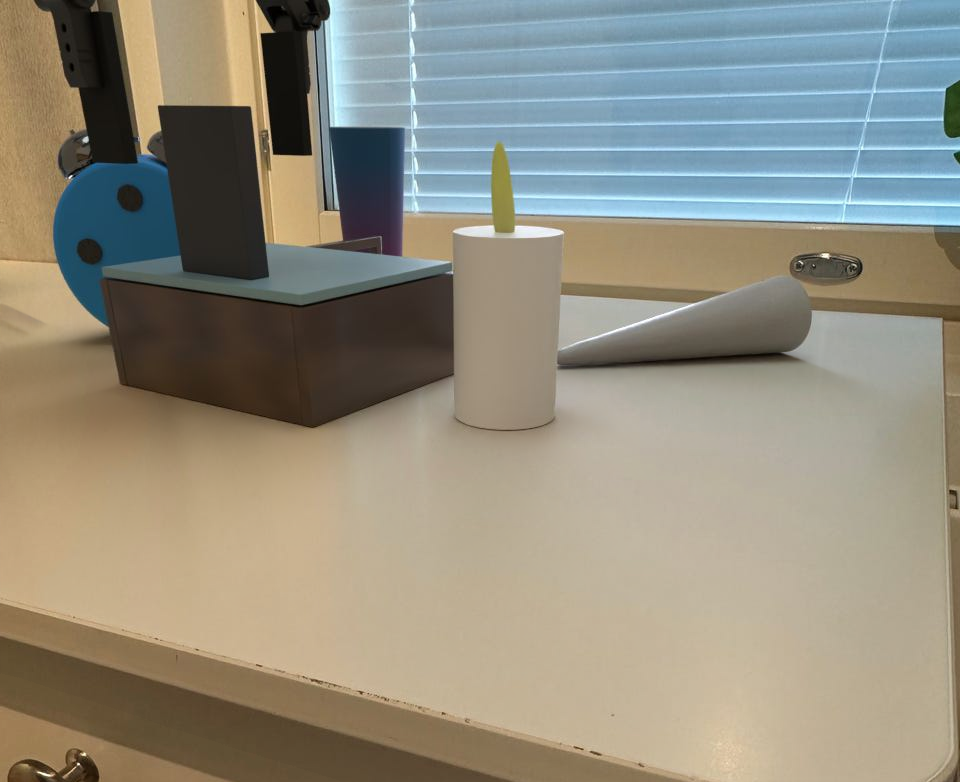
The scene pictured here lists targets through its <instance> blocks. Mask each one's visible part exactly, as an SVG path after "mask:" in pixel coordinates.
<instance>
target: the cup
mask: <svg viewBox="0 0 960 782" xmlns="http://www.w3.org/2000/svg"><path fill="white" fill-rule="evenodd" d="M328 129H329V137H330V146H331V147H330V148H331V155H332V162H333V170H334V178H335V187H336V194H337V195H336V196H337V203H338V212H339V219H340V220H339V221H340V228H341V237H342V241H343V240H350V239H356V238H362V237H369V236H381V246H382V255H390V256H400V257H403V245H404V244H403V243H404V242H403V239H404V196H405V195H404V190H405V150H406V149H405V147H406V146H405V145H406V127H403V126H329V128H328ZM352 252H361V253H370V248H366V249H360V250H354V251H352Z"/></svg>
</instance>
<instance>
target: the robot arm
mask: <svg viewBox="0 0 960 782" xmlns="http://www.w3.org/2000/svg"><path fill="white" fill-rule="evenodd" d="M255 2H256V4H257V6H258V7H259V9H260V11H261V13H262V15H263V16H264V18H265V20H266V21H267V23H268V25H269V27H270V29H271V31H273V32H261V33H259V34H260V43H261V53H262V54H261V55H262V62H263V72H264V73H263V74H264V81H265V82H264V83H265V93H266V102H267V110H268V121H269V130H270V141H271V148H272V155H273V156H292V157H293V156H294V157H308V156H309V157H310V156H312V157H313V147H312V145H313V144H312V135H311V122H310V121H311V120H310V111H309V109H310V108H309V100H308V95H310V93H311V86H312V82H311V70H310V58H309V44H308V33H309V32H317V31H319V30H320V29H321V26H322V22H326V21H328V20H329V19H330V16H331V5H330V2H329V0H255ZM33 3H34V4H35V5H36V6H37V9H40V10H41V11H42V12H46V13H48V12H49V13H51V16H52V20H53V25H54V30H55V36H56V40H57V45H58V50H59V55H60V60H61V65H62V69H63V75H64V78H65V80H66V81H67V84H68V86H69V88H71V89H73V88H74V89H78V93H79V98H80V104H81V108H82V113H83V118H84V124H85V129H87V135H88V140H89V145H90V150H91V155H92V160H93V163H115V164H136V163H138V160H137V155H138V154H137V148H136V144H135V143H136V142H134V137H135V136H134V132H133V126H132V125H133V124H132V120H131V113H130V109H129V102H128V97H127V91H126V86H125V85H126V84H125V79H124V74H123V68H122V62H121V57H120V51H119V50H120V49H119V44H118V38H117V33H116V27H115V22H114V15H113V12H112V11H103V10H102V11H101V10H95V11H92V7H93V6H94V5H95V3H96V0H33Z"/></svg>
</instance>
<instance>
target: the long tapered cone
mask: <svg viewBox="0 0 960 782" xmlns="http://www.w3.org/2000/svg"><path fill="white" fill-rule="evenodd" d="M812 310H813V309H812V303H811V299H810V296H809V294H808V292H807V290H806V288H805V287H804V286H803V284H802V283H801V282H800V281H799V280H797V279H796V278H795V277H793V276H790V275H786V274H785V275H784V274H779V275H776V276H773V277H769V278H766V279H763V280H761V281H757V282H755V283H751V284H747V285H745V286H743V287H740V288H738V289H735V290H731V291H728V292H725V293H722V294H720V295H716V296H713V297H710V298H707V299H704V300H701V301H698V302H695V303H693V304H689V305H687V306H686V305H685V306H684V307H681V308H677V309H675V310H672V311H668V312H666V313H662V314H659V315H656V316H653V317H651V318H648V319H645V320H641V321H639V322H636V323H633V324H629V325H627V326H624V327H620V328H617V329H615V330H612V331H609V332H606V333H603V334H599V335H596V336H594V337H591V338H587V339H584V340H582V341H578V342H576V343H573V344H570V345H567V346H565V347H563V348H561V349H558V357H557V366H564V367H565V366H569V367H570V366H571V367H573V366H574V367H575V366H592V365H593V366H595V365H608V364H623V363H638V362H651V361H652V362H654V361H668V360H684V359H697V358H714V357H730V356H745V355H763V354H778V353H789V352H792V351H794V350H797V349H798V348H799V347H800V346H801V345H802V344H803V343H804V342H805V341H806V339H807V337H808V335H809V333H810V330H811V325H812V320H813V311H812Z"/></svg>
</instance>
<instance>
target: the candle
mask: <svg viewBox="0 0 960 782" xmlns="http://www.w3.org/2000/svg"><path fill="white" fill-rule="evenodd" d="M491 160H492V161H491V175H490V177H491V179H490V181H491V182H490V194H491V195H490V197H491V199H490V200H491V215H492V216H491V217H492V222H493V225H492V224H491V225H475V226H465V227H459V228H455V229H454V230H453V231H452V271H453V307H454V374H453V413H454V417H455V419H456V420H458V421H459V422H460V423H462V424H464V425H468V426H470V427H471V426H472V427H475V428H481V429H487V430H497V431H498V430H499V431H514V430H525V429H526V430H527V429H533V428H537V427H542V426H544V425H546V424H549V423H551V422H552V421H553V420H554V419H555V412H556V395H557V394H556V393H557V377H558V364H557V357H558V351H559V338H560V337H559V335H560V317H561V315H560V314H561V296H562V278H563V275H562V274H563V260H564V259H563V257H564V241H565V232H564V231H563V230H561V229H557V228H551V227H545V226H535V225H516V210H515V200H514V189H513V182H512V175H511V170H510V165H509V160H508V155H507V153H506V149H505V147H504V144H503V143H502V141H500V140H498V141H497V142H496V144H495V146H494V149H493V153H492V159H491Z"/></svg>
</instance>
